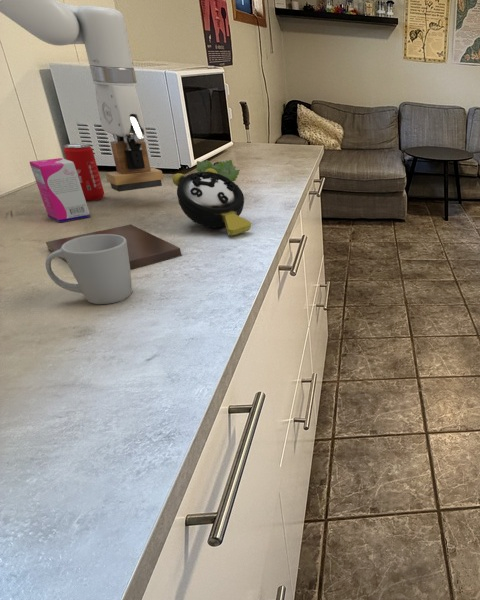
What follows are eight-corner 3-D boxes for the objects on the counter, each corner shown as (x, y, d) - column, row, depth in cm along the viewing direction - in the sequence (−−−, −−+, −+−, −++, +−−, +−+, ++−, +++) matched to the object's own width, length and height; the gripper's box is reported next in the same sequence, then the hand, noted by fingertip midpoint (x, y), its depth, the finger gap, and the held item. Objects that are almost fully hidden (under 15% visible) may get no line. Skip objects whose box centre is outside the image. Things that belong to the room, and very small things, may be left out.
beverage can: (105, 200, 110) (91, 147, 104) (78, 202, 107) (62, 147, 102) (105, 194, 114) (91, 142, 108) (78, 196, 111) (62, 143, 105)
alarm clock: (197, 256, 94) (147, 188, 88) (218, 233, 107) (176, 172, 100) (250, 233, 94) (204, 162, 87) (264, 213, 107) (226, 150, 100)
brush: (117, 192, 102) (106, 144, 98) (108, 188, 104) (97, 141, 100) (164, 185, 110) (156, 141, 105) (155, 182, 112) (147, 138, 107)
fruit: (237, 202, 125) (240, 204, 112) (191, 198, 120) (189, 199, 107) (238, 163, 123) (241, 160, 110) (192, 156, 118) (190, 152, 105)
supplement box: (79, 211, 102) (63, 157, 97) (91, 217, 99) (75, 162, 94) (47, 216, 98) (28, 160, 93) (58, 223, 95) (39, 165, 90)
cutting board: (94, 279, 75) (91, 270, 74) (48, 249, 84) (45, 241, 83) (181, 255, 85) (180, 247, 85) (132, 231, 94) (130, 224, 93)
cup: (138, 303, 69) (123, 249, 65) (53, 314, 65) (32, 257, 61) (141, 282, 75) (128, 231, 71) (63, 291, 71) (45, 238, 67)
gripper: (75, 72, 98) (97, 162, 106) (112, 80, 90) (133, 176, 98) (115, 73, 103) (133, 159, 112) (153, 81, 96) (169, 172, 104)
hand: (133, 166), depth 105 cm, fingers closed on brush, 2 cm apart
